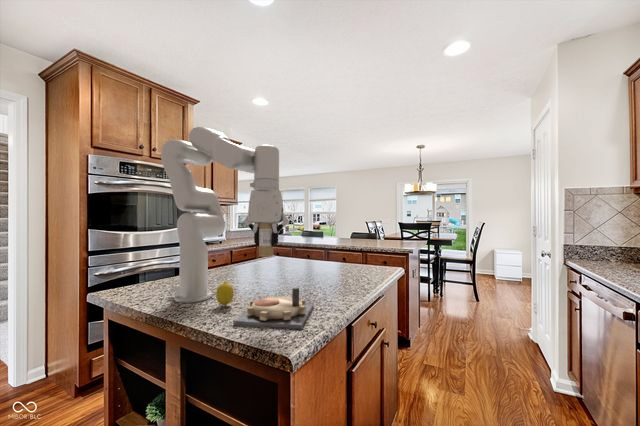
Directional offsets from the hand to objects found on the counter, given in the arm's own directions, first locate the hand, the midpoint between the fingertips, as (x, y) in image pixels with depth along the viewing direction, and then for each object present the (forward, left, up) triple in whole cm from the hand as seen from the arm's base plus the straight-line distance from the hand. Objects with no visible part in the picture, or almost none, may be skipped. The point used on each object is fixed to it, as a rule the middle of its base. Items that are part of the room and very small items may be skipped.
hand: (266, 245), depth 85 cm
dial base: (+4, 0, -21) cm, 21 cm away
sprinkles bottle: (0, 0, -4) cm, 4 cm away
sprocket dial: (+4, 0, -20) cm, 20 cm away
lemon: (-16, +6, -21) cm, 28 cm away
